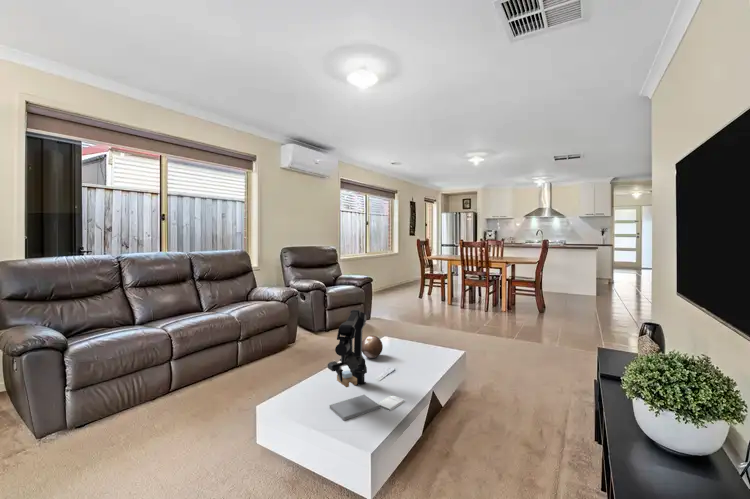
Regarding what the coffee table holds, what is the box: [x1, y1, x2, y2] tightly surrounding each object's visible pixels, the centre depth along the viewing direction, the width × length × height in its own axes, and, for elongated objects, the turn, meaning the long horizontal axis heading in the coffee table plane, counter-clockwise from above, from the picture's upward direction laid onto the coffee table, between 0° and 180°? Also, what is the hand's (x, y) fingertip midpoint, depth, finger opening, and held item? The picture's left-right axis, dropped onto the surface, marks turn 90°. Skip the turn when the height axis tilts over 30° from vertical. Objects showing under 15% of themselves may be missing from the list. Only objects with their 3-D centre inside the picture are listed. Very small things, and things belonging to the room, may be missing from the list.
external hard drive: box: [376, 394, 405, 412], centre depth 172 cm, size 2×8×12 cm
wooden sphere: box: [362, 335, 383, 359], centre depth 239 cm, size 15×15×15 cm
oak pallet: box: [336, 374, 357, 388], centre depth 172 cm, size 6×10×3 cm, turn 34°
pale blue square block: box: [342, 370, 352, 379], centre depth 173 cm, size 4×4×2 cm
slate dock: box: [329, 394, 381, 421], centre depth 167 cm, size 20×14×2 cm
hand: (346, 380), depth 172 cm, fingers closed on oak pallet, 6 cm apart
